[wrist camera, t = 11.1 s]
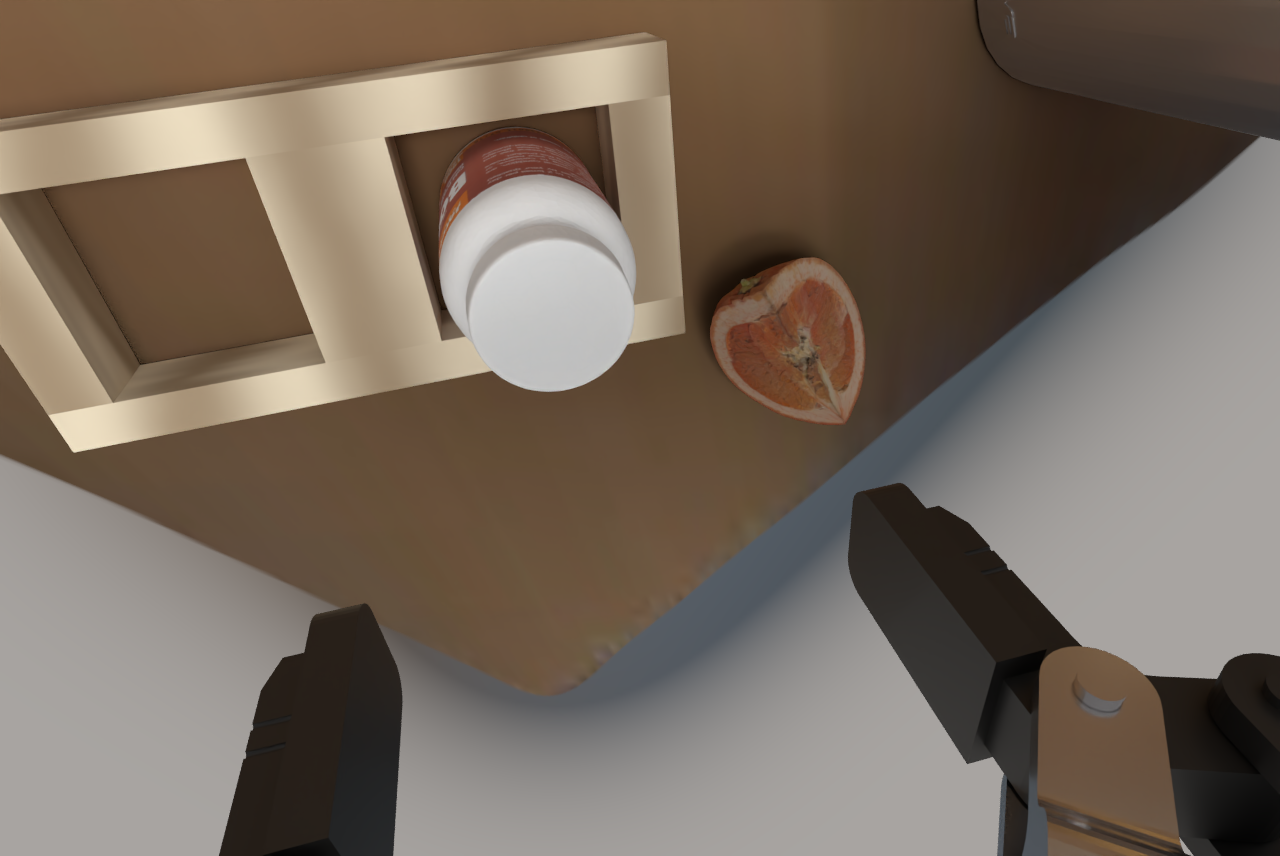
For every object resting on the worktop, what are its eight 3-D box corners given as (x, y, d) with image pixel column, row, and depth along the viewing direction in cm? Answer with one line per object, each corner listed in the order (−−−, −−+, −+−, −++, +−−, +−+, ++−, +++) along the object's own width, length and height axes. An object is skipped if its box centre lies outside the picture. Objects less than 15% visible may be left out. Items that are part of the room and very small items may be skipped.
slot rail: (645, 32, 27) (666, 40, 24) (666, 304, 33) (685, 333, 30) (-72, 129, 23) (-131, 149, 21) (103, 411, 30) (73, 452, 27)
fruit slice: (667, 290, 33) (700, 338, 29) (792, 200, 32) (844, 235, 28) (749, 409, 37) (788, 465, 33) (861, 334, 36) (914, 381, 32)
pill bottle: (427, 126, 27) (420, 215, 18) (591, 120, 28) (663, 200, 19) (450, 285, 30) (455, 427, 21) (596, 273, 31) (659, 403, 22)
